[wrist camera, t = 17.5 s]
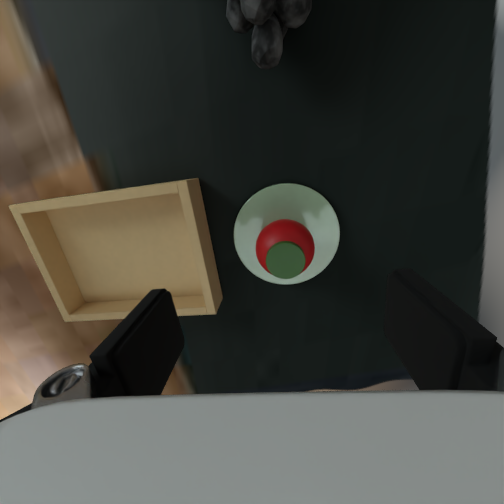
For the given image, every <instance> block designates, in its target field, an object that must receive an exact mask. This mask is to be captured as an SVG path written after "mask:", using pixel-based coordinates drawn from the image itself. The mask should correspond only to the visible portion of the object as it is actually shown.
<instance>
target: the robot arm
mask: <svg viewBox="0 0 504 504" xmlns="http://www.w3.org/2000/svg"><path fill="white" fill-rule="evenodd" d="M384 332H385V336H386V338H387V339H388V341H389V342H390V344H391V346H392V347H393V349H394V350H395V352H396V353H397V355H398V357H399V358H400V360H401V361H402V363H403V364H404V366H405V368H406V369H407V371H408V372H409V374H410V376H411V377H412V379H413V380H414V382H415V383H416V385H417V387H418V388H419V390H392V391H391V390H387V391H329V392H328V391H327V392H326V391H322V392H270V393H225V394H188V395H161V393H162V391H163V389H164V387H165V385H166V382H167V380H168V378H169V376H170V374H171V372H172V370H173V368H174V366H175V364H176V362H177V359H178V357H179V355H180V353H181V351H182V349H183V347H184V336H183V333H182V329H181V326H180V322H179V319H178V316H177V312H176V309H175V305H174V302H173V299H172V295H171V293H170V292H169V291H167V290H166V289H165V288H163V289H152V290H151V291H150V292H149V293H148V294H147V295H146V296H145V297H144V298H143V299H142V300H141V301H140V302H139V303H138V304H137V305H136V307H135V308H134V309H133V310H132V311H131V312H130V313H129V314H128V315H127V316H126V317H125V318H124V319H123V320H122V322H121V323H120V324H119V325H118V326H117V327H116V328H115V329H114V330H113V331H112V332H111V333H110V334H109V335H108V337H107V338H106V339H105V340H104V341H103V342H102V343H101V344H100V345H99V346H98V347H97V348H96V349H95V350H94V352H93V353H92V354H91V355H90V358H91V360H92V363H91V364H90V365H89V366H88V365H86V364H83V363H78V364H73V365H70V366H67V367H65V368H63V369H61V370H59V371H57V372H55V373H54V374H52V375H51V376H50V377H48V378H47V379H46V380H45V381H44V382H43V383H42V384H41V385H40V386H39V387H38V388H37V390H36V392H35V394H34V398H33V403H31V404H30V405H28V406H26V407H24V408H22V409H20V410H18V411H16V412H15V413H13V414H11V415H9V416H7V417H5V418H3V419H1V420H0V504H504V348H503V347H502V346H501V345H500V344H499V343H497V342H496V340H497V337H496V336H495V335H493V334H492V333H491V332H489V331H488V330H487V329H486V328H485V327H483V326H482V325H481V324H479V323H478V322H477V321H476V320H474V319H473V318H472V317H471V316H469V315H468V314H467V313H466V312H464V311H463V310H462V309H461V308H459V307H458V306H457V305H456V304H454V303H453V302H452V301H451V300H449V299H448V298H447V297H446V296H444V295H443V294H442V293H441V292H439V291H438V290H437V289H436V288H434V287H433V286H432V285H431V284H429V283H428V282H427V281H426V280H424V279H423V278H422V277H421V276H419V275H418V274H417V273H416V272H414V271H413V270H412V269H410V268H409V269H397V270H393V272H392V273H391V274H388V278H387V292H386V305H385V319H384Z"/></svg>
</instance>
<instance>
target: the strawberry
mask: <svg viewBox="0 0 504 504" xmlns="http://www.w3.org/2000/svg"><path fill="white" fill-rule="evenodd" d="M314 253H315V244H314V240H313V237H312V235H311V233H310V231H309V230H308V229H307V228H306V227H305V226H304V225H303V224H301V223H299V222H297V221H294V220H291V219H280V220H276V221H273V222H271V223H270V224H268V225H267V226H265V227H264V228H263V229H262V231H261V232H260V234H259V236H258V238H257V241H256V256H257V259H258V261H259V263H260V265H261V266H262V267H263V268H264V269H265V270H266V271H267V272H268V273H270V274H272V275H274V276H275V277H277V278H280V279H291V278H294V277H296V276H298V275H299V274H301V273H302V272H303V271H305V270H306V269H307V268H308V266H309V265H310V264H311V262H312V260H313V257H314Z"/></svg>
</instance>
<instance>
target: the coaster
mask: <svg viewBox="0 0 504 504" xmlns="http://www.w3.org/2000/svg"><path fill="white" fill-rule="evenodd" d="M280 219H291V220H294V221H297V222H299V223H301V224H303V225H304V226H305V227H306V228H307V229H308V230H309V231H310V233H311V235H312V237H313V240H314V244H315V253H314V257H313V260H312V262H311V264H310V265H309V266H308V268H307V269H306V270H305V271H303V272H302V273H301V274H299V275H298V276H296V277H294V278H291V279H280V278H277V277H275V276H274V275H272V274H270V273H268V272H267V271H266V270H265V269H264V268H263V267H262V266H261V265H260V263H259V261H258V259H257V256H256V241H257V238H258V236H259V234H260V232H261V231H262V229H263V228H264V227H265V226H267V225H268V224H270V223H271V222H273V221H276V220H280ZM339 239H340V227H339V222H338V218H337V216H336V213H335V211H334V209H333V208H332V206H331V205H330V203H329V202H328V201H327V200H326V199H325V198H324V197H323V196H322V195H321V194H319V193H318V192H317V191H315V190H313V189H311V188H309V187H307V186H304V185H300V184H295V183H280V184H275V185H271V186H268V187H266V188H264V189H262V190H260V191H258V192H257V193H255V194H254V195H253V196H252V197H250V198H249V199H248V200H247V202H246V203H245V204H244V205H243V207H242V208H241V210H240V212H239V214H238V216H237V218H236V222H235V226H234V244H235V248H236V251H237V254H238V256H239V258H240V259H241V261H242V262H243V264H244V265H245V266H246V267H247V268H248V270H250V271H251V272H252V273H253V274H254V275H256V276H258V277H259V278H261V279H263V280H266V281H268V282H272V283H276V284H296V283H300V282H303V281H306V280H309V279H311V278H313V277H314V276H316V275H317V274H319V273H320V272H321V271H323V270H324V269H325V268H326V267H327V265H328V264H329V263H330V262H331V260H332V259H333V257H334V255H335V253H336V251H337V248H338V244H339Z"/></svg>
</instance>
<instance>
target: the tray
mask: <svg viewBox="0 0 504 504" xmlns="http://www.w3.org/2000/svg"><path fill="white" fill-rule="evenodd" d="M9 208H10V210H11V212H12V214H13V216H14V218H15V220H16V223H17V225H18V227H19V229H20V231H21V233H22V235H23V237H24V239H25V241H26V243H27V245H28V247H29V249H30V251H31V253H32V255H33V257H34V260H35V262H36V264H37V266H38V268H39V270H40V272H41V274H42V276H43V278H44V280H45V282H46V284H47V286H48V288H49V290H50V292H51V294H52V296H53V299H54V301H55V303H56V305H57V307H58V309H59V311H60V313H61V315H62V317H63V319H64V321H65V322H71V321H90V320H109V319H124V318H125V317H126V316H127V315H128V314H129V313H130V312H131V311H132V310H133V309H134V308H135V307H136V305H137V304H138V303H139V302H140V301H141V300H142V299H143V298H144V297H145V296H146V295H147V294H148V293H149V292H150V291H151V290H152V289H163V288H165V289H166V290H167V291H169V292H170V293H171V295H172V299H173V302H174V305H175V309H176V312H177V316H188V315H207V314H208V315H209V314H216V313H217V310H218V308H219V306H220V303H221V300H222V298H223V296H222V291H221V286H220V282H219V277H218V272H217V267H216V262H215V257H214V252H213V247H212V242H211V237H210V233H209V228H208V223H207V218H206V213H205V208H204V203H203V198H202V193H201V189H200V184H199V179H198V178H194V179H187V180H179V181H172V182H165V183H158V184H151V185H144V186H137V187H130V188H123V189H116V190H108V191H101V192H94V193H87V194H80V195H73V196H66V197H59V198H52V199H45V200H38V201H32V202H26V203H20V204H14V205H9Z"/></svg>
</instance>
